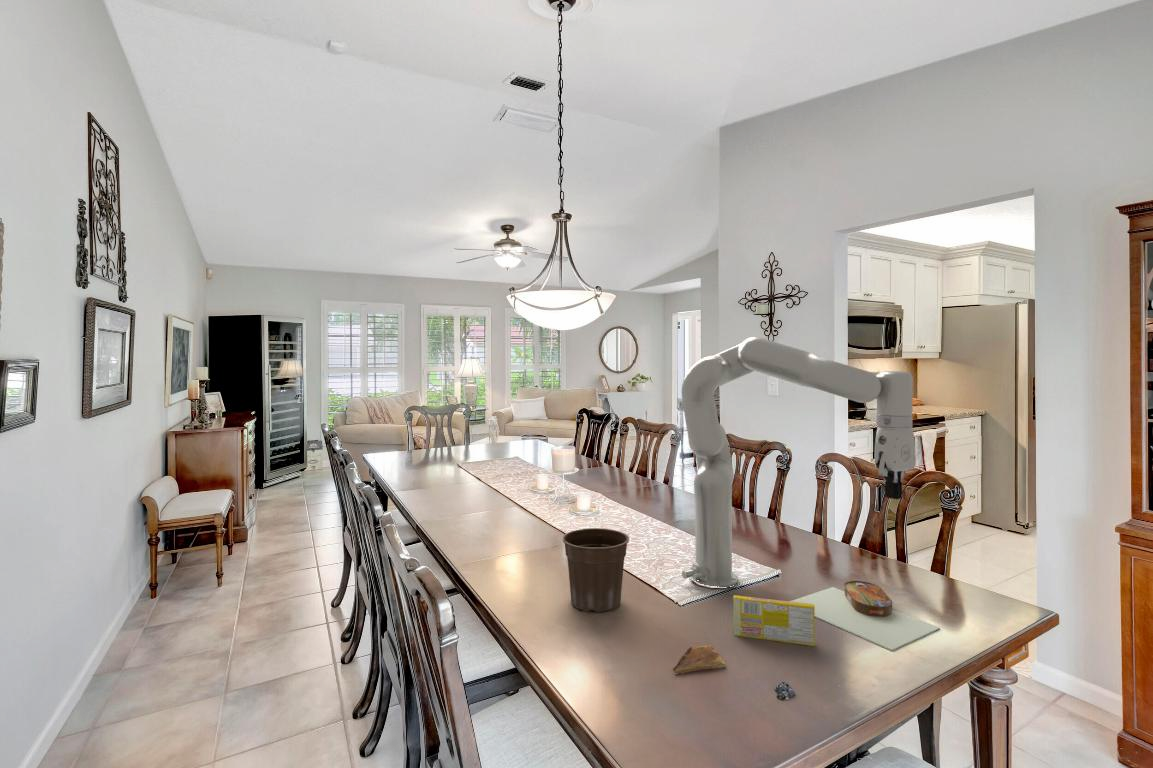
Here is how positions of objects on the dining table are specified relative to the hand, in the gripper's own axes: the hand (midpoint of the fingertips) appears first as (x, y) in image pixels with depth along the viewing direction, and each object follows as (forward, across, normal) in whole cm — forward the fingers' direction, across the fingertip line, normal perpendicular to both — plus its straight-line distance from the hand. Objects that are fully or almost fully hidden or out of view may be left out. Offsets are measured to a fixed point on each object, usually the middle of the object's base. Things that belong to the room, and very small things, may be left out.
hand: (893, 497), depth 137 cm
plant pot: (+25, -62, +37) cm, 77 cm away
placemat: (+25, -15, -1) cm, 29 cm away
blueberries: (+26, -54, -12) cm, 61 cm away
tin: (+24, -5, -1) cm, 24 cm away
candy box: (+26, -40, +2) cm, 47 cm away
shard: (+26, -60, +2) cm, 65 cm away
